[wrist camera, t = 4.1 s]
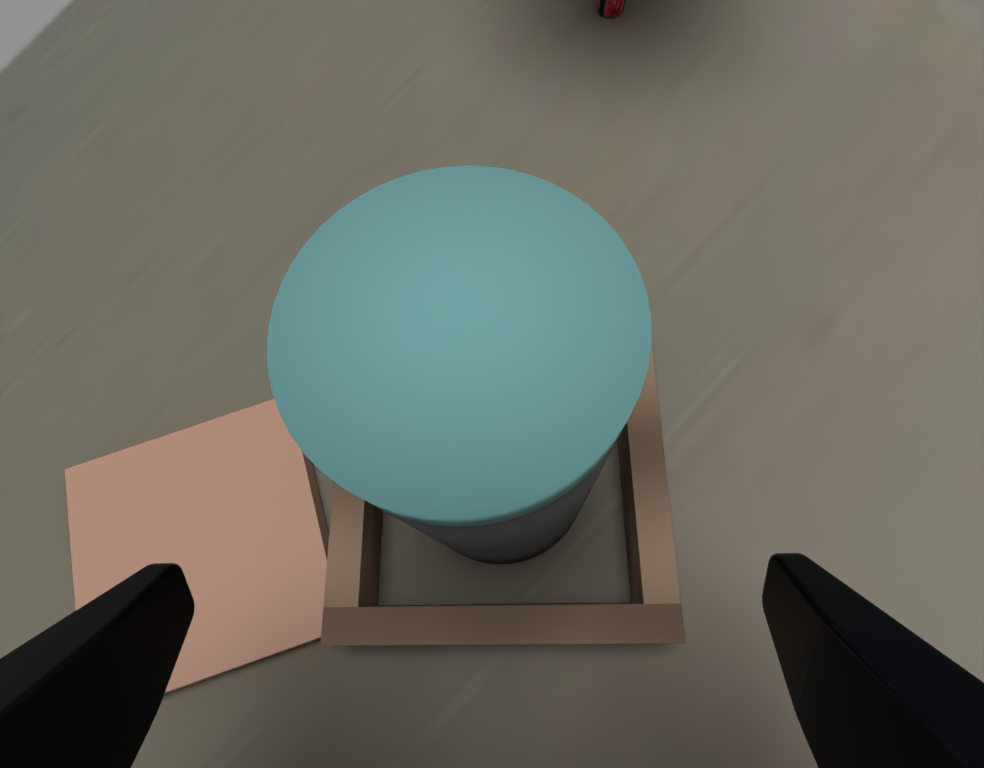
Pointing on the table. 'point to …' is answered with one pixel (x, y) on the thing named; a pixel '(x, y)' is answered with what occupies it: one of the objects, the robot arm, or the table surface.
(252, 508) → the coaster
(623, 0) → the lantern
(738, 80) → the table surface
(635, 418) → the open square brown frame
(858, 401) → the table surface
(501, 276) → the teal-capped grey cylinder
